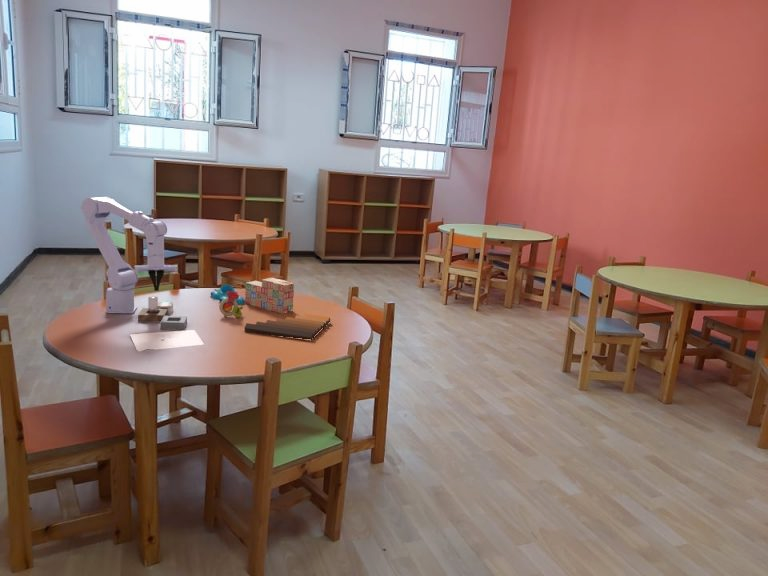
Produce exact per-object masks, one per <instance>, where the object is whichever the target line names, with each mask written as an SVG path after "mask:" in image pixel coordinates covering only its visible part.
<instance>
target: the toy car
mask: <svg viewBox="0 0 768 576" xmlns="http://www.w3.org/2000/svg"><path fill="white" fill-rule="evenodd" d="M228 291H230V292H231V291H235V292H237V290H236V288H234V287H233V286H232V285H231V284H229V283H225V284H222V286H221V287H219V288H214V290H213V291H211V292H210V298H211V299H213V300H216V301H217V302H219V304H220V303H221V301H222V300H224V299H225V298H228V296H227V293H226V292H228ZM237 293H238V292H237ZM238 295H239V294H238ZM235 301H236V302H237V304H238V306H243V305H245V304H246V303H245V297H243V296H242V295H239V298H238V299H235ZM226 303H230V302H226ZM230 304H231V305H232V306H234V305H233V304H232V303H230Z"/></svg>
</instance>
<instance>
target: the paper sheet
mask: <svg viewBox="0 0 768 576" xmlns="http://www.w3.org/2000/svg"><path fill="white" fill-rule="evenodd" d="M129 336H130V338H131V340H132V342H133V345H134V347H135V348H136V351H137V350H139V351H138V352H143V351H142V350H143V349H146V348H148V349H154V350H164V349H172V348H173V349H174V348H183V347H193V346H202V345H203V346H204V342H203V341H202V339H201V337H200V336H199V335H198V333H197V332H196V330H195V329H191V330H188V329H187V330H175V331H173V330H171V331H159V332H146V333H145V332H144V333H143V332H141V333H130V334H129ZM140 350H141V351H140ZM154 350H153V351H154Z"/></svg>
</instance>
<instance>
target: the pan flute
mask: <svg viewBox="0 0 768 576" xmlns="http://www.w3.org/2000/svg"><path fill="white" fill-rule="evenodd" d="M329 322H330V323H331V318H330V316H329V317H328V316H323V315H314V314H307V313H304V316H303V315H295V317H292V316H291V317H290V316H286V317H285V319H284V318H276V319H275V320H270V319H267V320H266V322H265V321H264V322H263V321H256V322H255V323H254V324H253V323H246V324H245V326H244V332H245V333H250V334H251V333H252V334H256V335H257V334H258V335H266V336H271V335H274V336H273V337H278V336H283V337H282V338H285V337H293V338H302V339H312V338H313V337H314V336H315V335H316V334H317V333H318V332H319V331H320V330H321V329H322V328H324V327H325V326H326V325H327V324H328V323H329ZM327 326H328V325H327ZM324 329H325V328H324ZM316 336H317V335H316ZM313 339H314V338H313Z"/></svg>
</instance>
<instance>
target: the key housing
mask: <svg viewBox="0 0 768 576" xmlns="http://www.w3.org/2000/svg"><path fill="white" fill-rule="evenodd" d="M162 307H163V308H167V309H168V316H172V313H173V311H174V302H173V301H172V302H161V301H158V309H161V308H162Z"/></svg>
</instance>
